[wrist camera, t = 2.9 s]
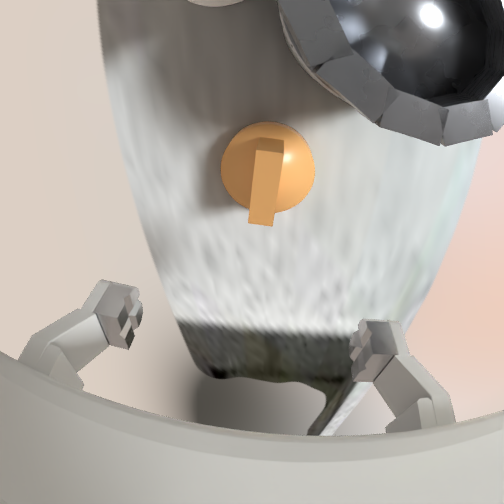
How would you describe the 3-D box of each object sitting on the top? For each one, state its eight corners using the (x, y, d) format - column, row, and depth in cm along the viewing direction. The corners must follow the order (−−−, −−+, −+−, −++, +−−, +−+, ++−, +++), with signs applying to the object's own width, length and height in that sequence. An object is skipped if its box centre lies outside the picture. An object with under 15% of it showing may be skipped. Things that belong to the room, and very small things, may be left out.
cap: (228, 116, 20) (213, 132, 16) (319, 128, 19) (329, 148, 15) (223, 195, 24) (209, 228, 20) (303, 206, 23) (307, 241, 19)
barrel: (288, -59, 10) (290, -130, 2) (448, -10, 10) (532, -23, 2) (269, 86, 18) (259, 106, 10) (427, 124, 18) (505, 176, 10)
